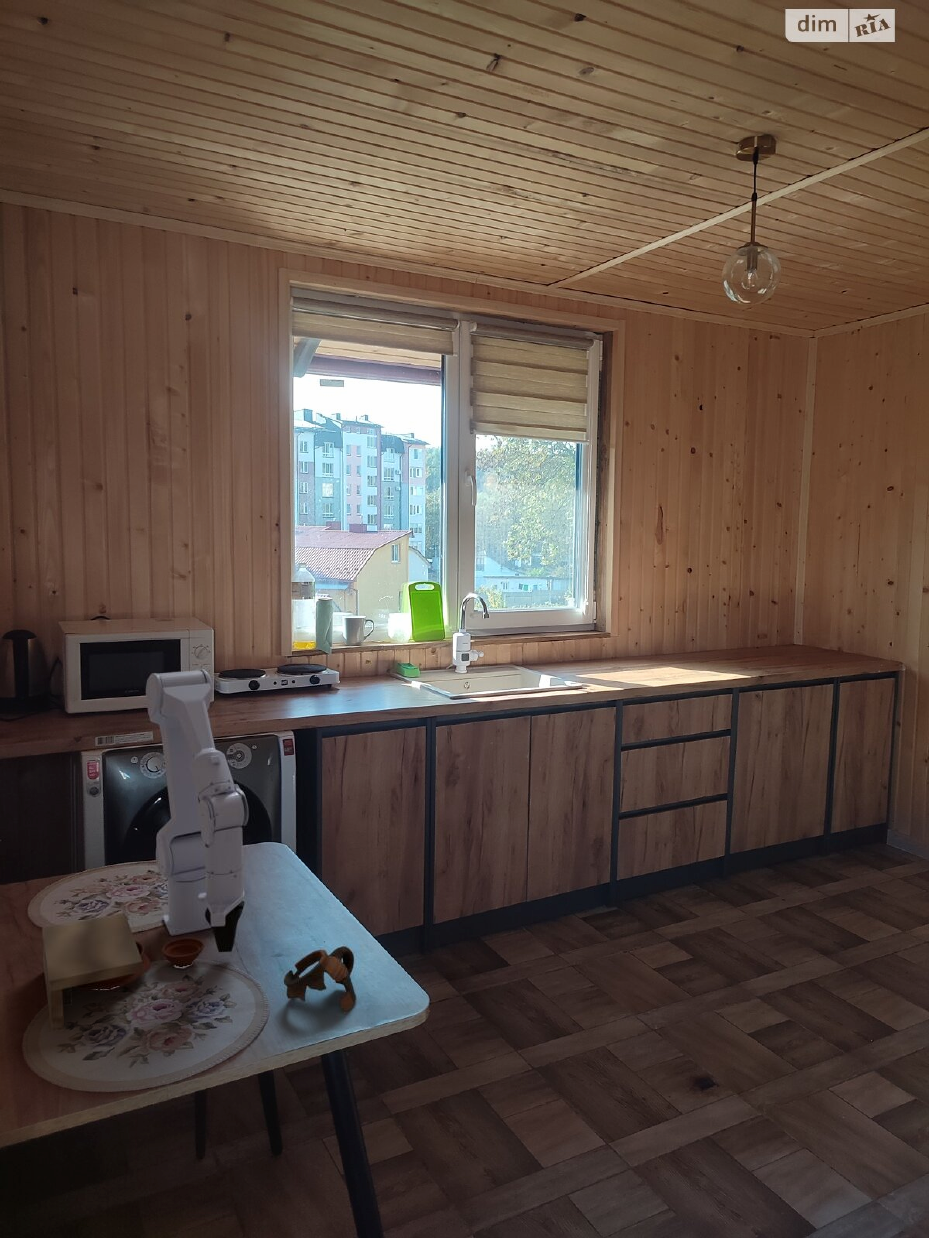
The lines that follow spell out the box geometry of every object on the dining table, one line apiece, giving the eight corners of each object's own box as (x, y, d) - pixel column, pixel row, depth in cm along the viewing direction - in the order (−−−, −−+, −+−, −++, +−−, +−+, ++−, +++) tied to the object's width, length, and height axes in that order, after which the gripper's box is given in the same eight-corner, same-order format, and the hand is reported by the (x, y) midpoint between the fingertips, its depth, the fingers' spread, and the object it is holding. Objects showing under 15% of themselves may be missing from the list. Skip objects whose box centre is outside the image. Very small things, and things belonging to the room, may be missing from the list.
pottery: (64, 973, 137) (63, 945, 137) (196, 945, 147) (195, 919, 146) (70, 1009, 127) (69, 980, 127) (212, 977, 137) (212, 950, 136)
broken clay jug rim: (341, 1028, 124) (310, 980, 123) (295, 1038, 128) (265, 992, 127) (381, 969, 134) (353, 925, 133) (337, 981, 139) (309, 938, 138)
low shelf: (126, 954, 143) (124, 912, 142) (143, 1007, 127) (142, 961, 127) (43, 971, 137) (42, 928, 137) (51, 1029, 122) (49, 980, 121)
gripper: (206, 851, 147) (207, 930, 148) (189, 886, 133) (191, 973, 134) (249, 850, 148) (250, 928, 149) (237, 885, 133) (239, 971, 135)
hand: (225, 949), depth 142 cm, fingers closed
